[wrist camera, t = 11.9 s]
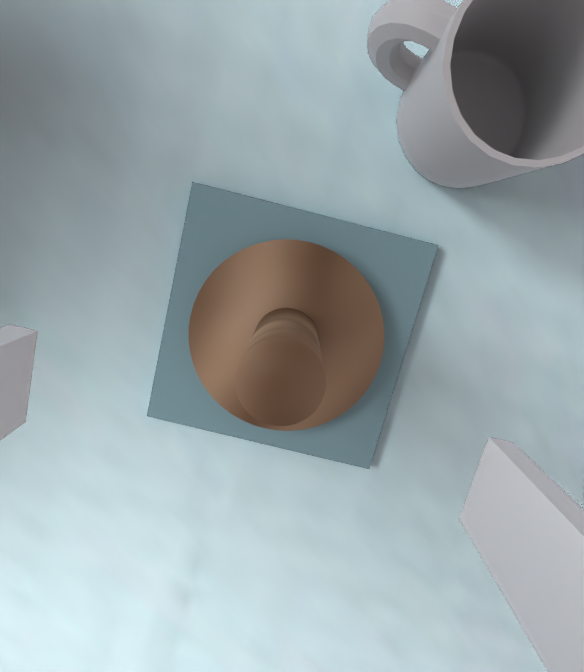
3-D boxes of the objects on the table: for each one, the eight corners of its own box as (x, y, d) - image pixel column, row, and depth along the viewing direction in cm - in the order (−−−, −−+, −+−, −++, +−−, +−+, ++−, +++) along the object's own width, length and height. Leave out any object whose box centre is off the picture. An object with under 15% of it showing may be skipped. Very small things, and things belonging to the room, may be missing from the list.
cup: (481, 213, 26) (571, 202, 18) (325, 125, 26) (338, 69, 17) (555, 89, 25) (691, 11, 16) (392, -9, 24) (444, -145, 16)
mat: (149, 412, 29) (146, 416, 29) (194, 183, 26) (192, 181, 26) (367, 464, 30) (369, 468, 29) (435, 244, 27) (438, 245, 26)
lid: (176, 400, 28) (121, 475, 20) (213, 218, 26) (169, 210, 17) (353, 442, 29) (376, 533, 20) (404, 265, 26) (456, 281, 18)
